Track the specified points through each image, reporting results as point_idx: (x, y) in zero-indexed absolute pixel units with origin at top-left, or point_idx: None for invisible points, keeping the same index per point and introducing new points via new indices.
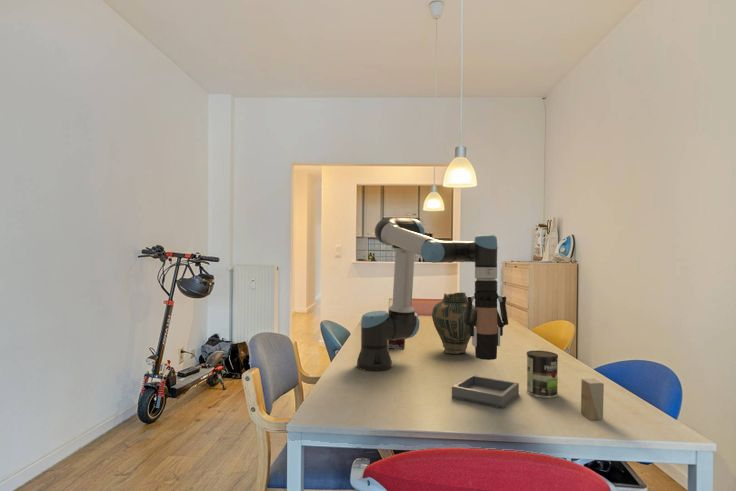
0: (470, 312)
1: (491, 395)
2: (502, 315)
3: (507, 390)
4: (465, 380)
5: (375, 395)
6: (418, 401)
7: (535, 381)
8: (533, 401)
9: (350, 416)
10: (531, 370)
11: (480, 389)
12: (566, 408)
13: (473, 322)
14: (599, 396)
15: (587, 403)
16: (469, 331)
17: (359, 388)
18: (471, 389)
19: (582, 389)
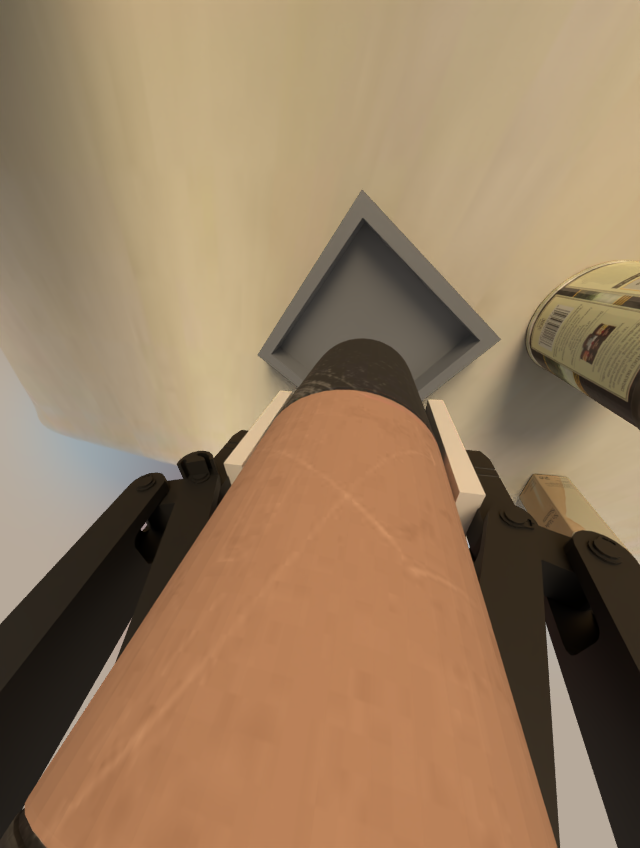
0: (106, 651)
1: None
2: (602, 692)
3: None
4: (311, 292)
5: (90, 308)
6: (193, 360)
7: (558, 370)
8: (485, 391)
9: (103, 417)
10: (582, 368)
11: (366, 298)
12: (532, 443)
13: None
14: None
15: (537, 517)
16: (224, 450)
17: (22, 238)
18: None
19: (563, 527)
